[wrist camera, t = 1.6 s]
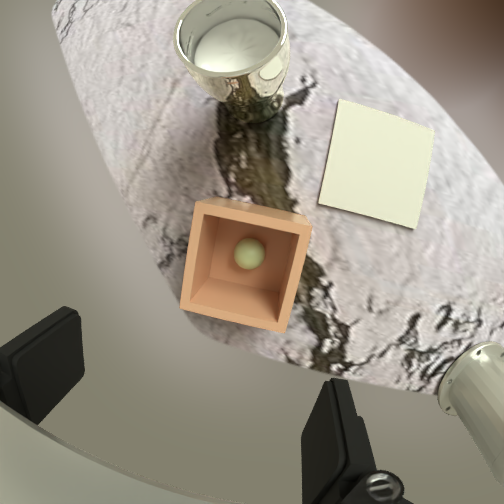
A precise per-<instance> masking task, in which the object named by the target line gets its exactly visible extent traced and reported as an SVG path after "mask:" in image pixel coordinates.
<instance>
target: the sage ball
mask: <svg viewBox="0 0 504 504" xmlns="http://www.w3.org/2000/svg"><path fill="white" fill-rule="evenodd" d="M264 258H265V249H264V247H263V245H262V244H261V243H260V242H259V241H258V240H256V239H253V238H245V239H243V240H241V241H239V242H238V243H237V245H236V246H235V249H234V259H235V261H236V263H237V264H238V265H239V266H240V267H242V268H244V269H248V270H251V269H255V268H257V267H259V266H260V265H261V264H262V263H263V261H264Z"/></svg>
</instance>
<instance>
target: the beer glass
mask: <svg viewBox="0 0 504 504" xmlns="http://www.w3.org/2000/svg"><path fill="white" fill-rule="evenodd" d="M173 43H174V48H175V51H176V53H177V55H178V57H179V58H180V60H181V61H182V62H183V63H184V65H185V67H186V68H187V70H188V72H189V73H190V75H191V76H192V77H193V79H194V80H195V81H196V82H197V84H198V85H199V86H200V87H201V88H202V89H203V90H204V91H205V92H207V93H208V94H209V95H210V96H212V97H213V98H215V99H217V100H219V101H221V102H223V103H224V104H225V107H226V109H227V110H228V112H229V113H230V114H231V115H232V116H233V117H235V118H236V119H238V120H240V121H243V122H246V123H259V122H263V121H266V120H268V119H270V118H271V117H273V116H274V115H275V114H276V113H277V112H278V111H279V109H280V108H281V105H282V103H283V98H284V92H283V87H282V84H283V82H284V80H285V78H286V75H287V73H288V69H289V63H290V41H289V35H288V26H287V20H286V17H285V14H284V12H283V10H282V9H281V8H280V6H279V5H278V4H277V3H276V2H275V1H274V0H196V1H194V2H193V3H192V4H191V5H190V6H188V7H187V8H186V10H185V11H184V12H183V13H182V14H181V16H180V17H179V19H178V21H177V23H176V26H175V29H174V34H173Z"/></svg>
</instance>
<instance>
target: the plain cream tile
mask: <svg viewBox="0 0 504 504" xmlns="http://www.w3.org/2000/svg"><path fill="white" fill-rule="evenodd" d="M434 134H435V131H434V130H431V129H429V128H426V127H424V126H421V125H418V124H416V123H413V122H411V121H408V120H405V119H402V118H400V117H397V116H394V115H391V114H388V113H385V112H382V111H379V110H376V109H373V108H370V107H366V106H363V105H360V104H356V103H353V102H349V101H346V100H342V99H339V102H338V107H337V113H336V118H335V123H334V129H333V134H332V139H331V144H330V149H329V154H328V159H327V164H326V168H325V173H324V178H323V182H322V187H321V192H320V196H319V201H318V203H319V204H323V205H327V206H331V207H335V208H339V209H343V210H347V211H351V212H355V213H359V214H363V215H366V216H370V217H374V218H378V219H381V220H385V221H388V222H392V223H396V224H399V225H403V226H406V227H410V228H413V229H416V227H417V223H418V219H419V215H420V211H421V206H422V202H423V197H424V192H425V188H426V183H427V177H428V172H429V166H430V161H431V155H432V148H433V141H434Z"/></svg>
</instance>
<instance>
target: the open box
mask: <svg viewBox="0 0 504 504" xmlns="http://www.w3.org/2000/svg"><path fill="white" fill-rule="evenodd" d="M312 227H313V226H312V225H311V223H310V222H309V221H308V219H307V218H306V216H305V215H301V214H297V213H292V212H288V211H283V210H279V209H274V208H270V207H265V206H260V205H256V204H251V203H246V202H241V201H237V200H232V199H227V198H222V197H213V198H209V199H204V200H200V201H196V202H195V208H194V213H193V219H192V225H191V231H190V237H189V244H188V250H187V257H186V263H185V270H184V277H183V284H182V292H181V300H180V309H184V310H187V311H191V312H195V313H199V314H203V315H207V316H211V317H215V318H219V319H223V320H227V321H231V322H236V323H240V324H244V325H249V326H253V327H258V328H262V329H267V330H271V331H276V332H281V333H285V331H286V327H287V324H288V320H289V316H290V313H291V309H292V306H293V302H294V298H295V294H296V291H297V287H298V283H299V279H300V275H301V272H302V268H303V264H304V260H305V256H306V252H307V248H308V244H309V239H310V235H311V231H312ZM245 238H253V239H256V240H258V241H259V242H260V243H261V244H262V245H263V247H264V249H265V258H264V261H263V263H262V264H261V265H260V266H259V267H257V268H255V269H251V270H248V269H244V268H242V267H240V266H239V265H238V264H237V263H236V261H235V259H234V249H235V246H236V245H237V243H238V242H239V241H241V240H243V239H245Z"/></svg>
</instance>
